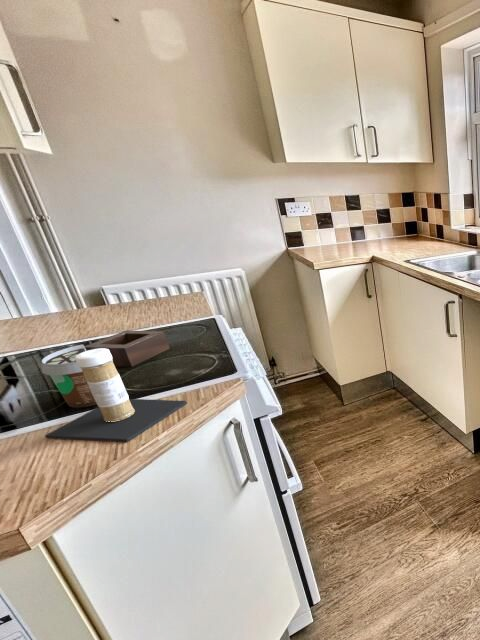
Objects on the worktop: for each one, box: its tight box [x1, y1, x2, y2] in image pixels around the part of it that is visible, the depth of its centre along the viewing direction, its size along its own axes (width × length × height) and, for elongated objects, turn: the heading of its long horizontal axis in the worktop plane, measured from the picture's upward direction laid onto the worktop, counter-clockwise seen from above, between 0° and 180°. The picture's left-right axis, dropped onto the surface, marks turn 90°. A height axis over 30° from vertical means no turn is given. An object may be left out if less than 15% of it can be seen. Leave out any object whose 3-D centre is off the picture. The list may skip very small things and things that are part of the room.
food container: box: [40, 343, 98, 408], centre depth 85 cm, size 12×6×10 cm, turn 40°
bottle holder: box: [84, 330, 171, 368], centre depth 106 cm, size 11×11×5 cm
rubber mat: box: [44, 398, 188, 443], centre depth 80 cm, size 16×13×1 cm
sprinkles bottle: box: [75, 348, 135, 422], centre depth 77 cm, size 5×5×14 cm
